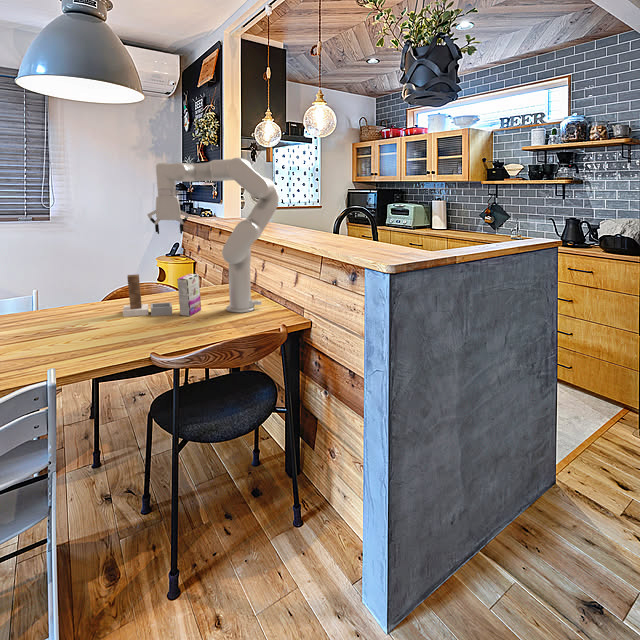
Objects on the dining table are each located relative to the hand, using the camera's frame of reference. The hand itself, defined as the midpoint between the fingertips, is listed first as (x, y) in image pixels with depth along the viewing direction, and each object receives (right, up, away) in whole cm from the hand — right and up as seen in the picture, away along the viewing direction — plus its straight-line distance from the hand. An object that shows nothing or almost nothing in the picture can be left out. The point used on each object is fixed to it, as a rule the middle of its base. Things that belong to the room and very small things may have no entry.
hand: (169, 233), depth 206 cm
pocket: (-3, -35, -2) cm, 35 cm away
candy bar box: (+9, -35, -1) cm, 36 cm away
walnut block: (-14, -33, -3) cm, 36 cm away
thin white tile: (-14, -35, -2) cm, 38 cm away
